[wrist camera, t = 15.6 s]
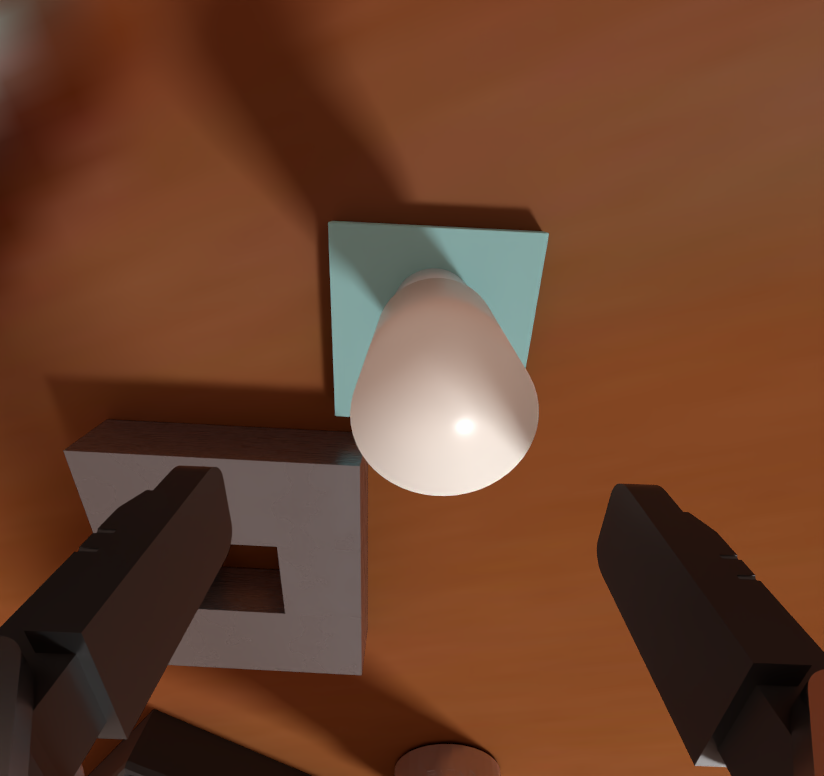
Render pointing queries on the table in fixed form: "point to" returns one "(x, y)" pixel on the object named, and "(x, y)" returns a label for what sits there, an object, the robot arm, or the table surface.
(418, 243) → the teal square tile
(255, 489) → the socket block
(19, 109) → the table surface
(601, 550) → the robot arm
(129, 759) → the food platter
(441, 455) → the cream rounded tapered piece
